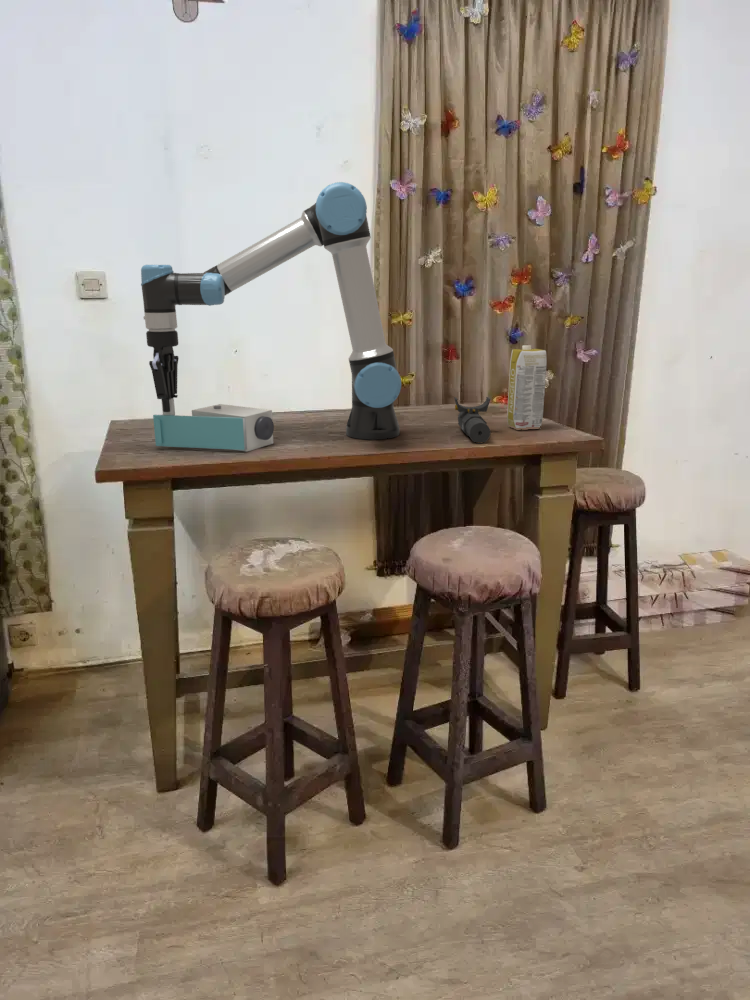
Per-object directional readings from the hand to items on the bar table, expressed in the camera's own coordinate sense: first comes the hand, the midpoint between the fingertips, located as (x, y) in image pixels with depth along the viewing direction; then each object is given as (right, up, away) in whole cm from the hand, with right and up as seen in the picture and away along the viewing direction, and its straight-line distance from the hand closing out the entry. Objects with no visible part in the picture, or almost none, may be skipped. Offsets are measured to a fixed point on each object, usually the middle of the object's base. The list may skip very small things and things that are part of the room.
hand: (169, 423), depth 187 cm
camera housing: (+15, -5, +7) cm, 17 cm away
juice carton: (+97, +1, +27) cm, 100 cm away
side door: (+8, -6, -1) cm, 10 cm away
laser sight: (+80, -2, +18) cm, 82 cm away
